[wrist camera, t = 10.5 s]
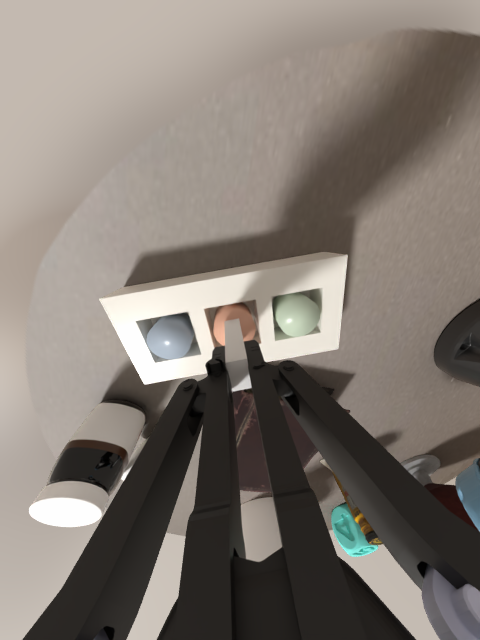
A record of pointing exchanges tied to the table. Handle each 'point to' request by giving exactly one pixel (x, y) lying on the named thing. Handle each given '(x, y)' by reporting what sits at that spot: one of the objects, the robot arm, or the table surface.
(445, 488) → the mate gourd
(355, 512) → the condiment
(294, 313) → the sage button
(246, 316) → the terracotta button
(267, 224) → the table surface
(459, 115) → the table surface
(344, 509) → the decorative dice
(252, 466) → the diary
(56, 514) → the spread jar
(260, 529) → the cylinder
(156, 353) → the slate button
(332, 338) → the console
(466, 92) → the table surface
